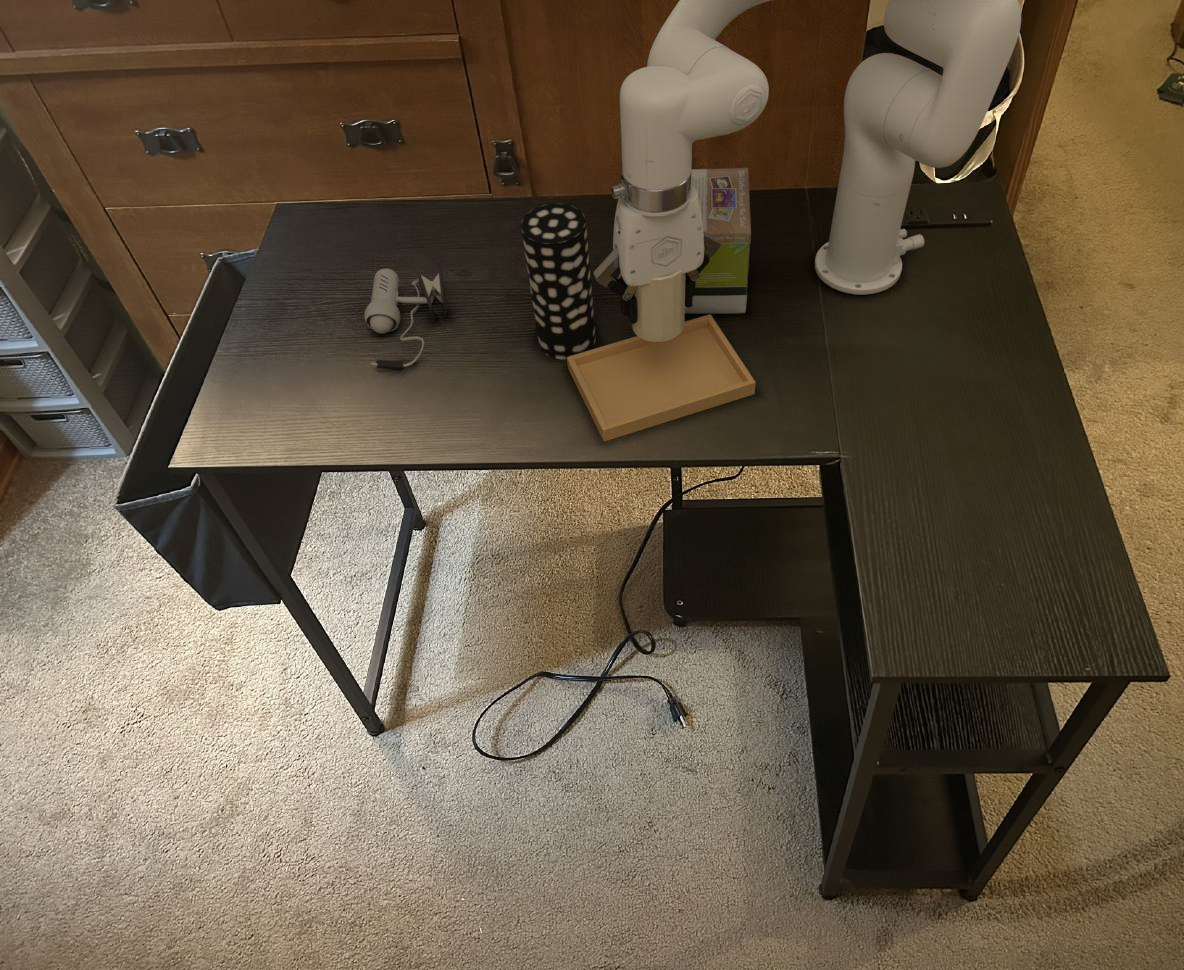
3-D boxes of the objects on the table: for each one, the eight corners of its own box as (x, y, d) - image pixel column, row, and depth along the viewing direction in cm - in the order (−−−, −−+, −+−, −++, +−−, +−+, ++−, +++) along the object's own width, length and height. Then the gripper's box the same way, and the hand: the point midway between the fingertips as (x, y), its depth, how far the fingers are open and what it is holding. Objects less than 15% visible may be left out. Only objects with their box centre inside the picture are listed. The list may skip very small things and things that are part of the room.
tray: (709, 326, 132) (710, 313, 130) (754, 394, 124) (755, 382, 122) (567, 368, 129) (566, 357, 127) (603, 442, 120) (602, 430, 118)
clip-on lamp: (443, 383, 133) (451, 281, 140) (438, 359, 127) (446, 254, 135) (361, 382, 132) (373, 280, 140) (352, 358, 127) (365, 253, 134)
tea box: (679, 250, 143) (680, 166, 131) (744, 249, 142) (751, 165, 130) (676, 315, 134) (677, 231, 122) (746, 316, 133) (754, 231, 121)
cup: (671, 301, 120) (672, 238, 112) (692, 333, 116) (694, 270, 108) (624, 315, 119) (621, 252, 111) (643, 348, 115) (641, 285, 107)
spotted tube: (589, 362, 129) (578, 246, 114) (532, 356, 131) (513, 241, 115) (600, 322, 134) (591, 205, 118) (545, 317, 136) (529, 201, 120)
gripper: (594, 224, 98) (603, 347, 112) (743, 184, 101) (733, 308, 115) (572, 186, 103) (583, 309, 117) (715, 149, 105) (708, 273, 119)
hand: (657, 308), depth 116 cm, fingers closed on cup, 6 cm apart
